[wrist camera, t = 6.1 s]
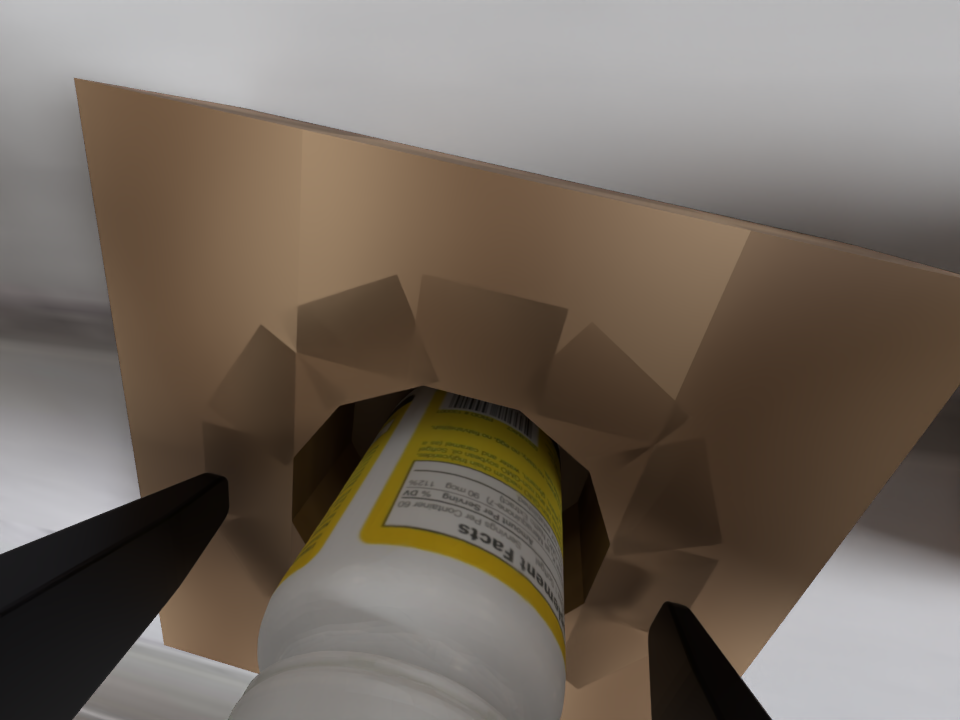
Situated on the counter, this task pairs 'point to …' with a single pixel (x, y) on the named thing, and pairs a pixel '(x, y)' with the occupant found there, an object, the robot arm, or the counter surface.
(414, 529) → the supplement bottle
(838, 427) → the wooden holder block
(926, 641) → the counter surface
